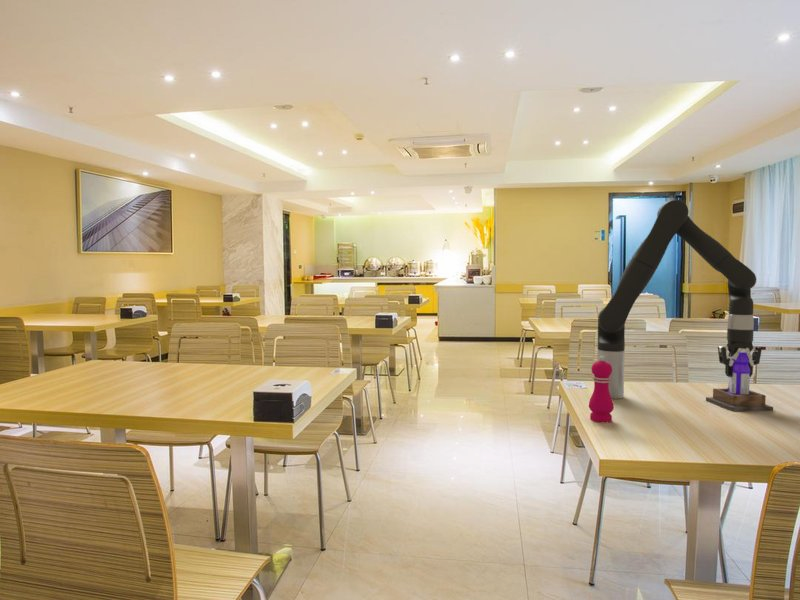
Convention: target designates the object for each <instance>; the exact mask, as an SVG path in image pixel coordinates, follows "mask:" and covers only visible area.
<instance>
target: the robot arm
mask: <svg viewBox="0 0 800 600" xmlns="http://www.w3.org/2000/svg"><path fill="white" fill-rule="evenodd" d="M656 215H657V217H656V219H655V221H654V224H653V225H652V228H651V229H650V231H649V233H648V234H647V236H646V238H645V239H644V240H643V241H642V242H641V243H640V245H639V246H638V248H637V249H636V250H635V252H634V253H633V254H632V256H631V258H630V260H629V261H628V263H627V265H626V267H625V269H624V270H623V273H622V275H621V278H620V280H619V282H618V285H617V287H616V290H615V292H614V293H613V296H612V297H611V298H610V300H609V301H608V303H606V306H604V308H602V309H601V310H600V311H599V313H598V317H597V361H599V357H600V356H603V357H604V358H605V362H608V363H609V364H610V365H611V367H612V373H611V375H610V376H609V377H610V382H609V393H610V396H611V398H612V400H614V399H615V400H617V399H623V398H624V396H625V394H624V393H625V347H626V346H625V345H626V344H625V342H626V341H625V337H626V336H625V331H626V329H625V327H626V325H625V324H626V321H627V319H628V317H629V314H630V312H631V310H632V308H633V305H634V304H635V302H636V301H637V299H638V298H639V296H640V295H642V293H643V292H644V290H645V288H646V287H647V286H648V284H649V283H650V281H651V280H652V278H653V276H654V275H655V273H656V272H657V271H656V270H657V269H658V267H659V265H660V264H661V262H662V260H663V257H664V255H665V254H666V251H667V249H668V246H669V245H670V243H671V241H672V239H673V238H674V237H675V235H677V236H679V237H680V238H681V239H682V240H684V241H685V243H687V244H688V245H689V246H690V247H691V248H692V249H693V250H694V251H695V252H696V253H697V254H698V255H699V256H700V257H701V258H702V259H703V260H704V261H705V262H706V263H707V264H708V265H709V266H711V267H712V268H713V269H714V270H716V271H717V272H719V273H721V274H722V275H723V276H724V277H725V278H726V279H727V291H728V299H729V301H728V316H727V323H726V325H727V326H726V327H727V328H726V331H727V332H726V333H727V334H726V340H727V344H726V345H725V346H724V345H723V346H722V345H719V346H717V351H718V360H719V364H722V365H724V373H725V375H726V377H732V375H733V366H732V365H733V363H734V361H735V360H736V359H737V357H738V355H739V353H740V351H741V348H744V349H746V353H747V358H748V360H749V363H748V366H749V368H750V378H751V377H752V376H753V372H754V371H753V370H754V366H755V365H759V364H760V361H761V356H762V350H763V348H762V347H761V346H758V345H753V342H754V326H755V325H754V324H755V323H754V322H755V321H754V301H753V298H752V296H751V295H752V293H751V292H752V288H754V286H755V285H756V283H757V275H756V274H755V273H754V271H753V270H752V269H750V268H749V267H748V266H747V265H745V264H744V263H743V262H741V261H740V260H739V259H737V258H736V257H735V256H734V255H733V254H732V253H731V252H730V251H729V250H728V249H727V248H726V247H724V245H722V243H720V242H719V241H718V240H716V239H715V238H713V237H712V236H711V235H709V234H708V233H707V232H706V231H704V230H702V229H701V228H700V227H699V226H698V225H696V223H695V222H694V221H693V220H692V219H691V217H690V216H689V207H688V205H687V204H686V203H685V202H684V201H683V200H680V199H671V200H668V201H666V202H663V204H662V205H661V206H660V207H659V208H658V211H657V214H656ZM732 356H733V357H732ZM597 361H596V362H597Z"/></svg>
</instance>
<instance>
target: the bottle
mask: <svg viewBox="0 0 800 600" xmlns="http://www.w3.org/2000/svg"><path fill="white" fill-rule="evenodd" d="M732 357H733V356H732ZM748 363H749V360H748V358H747V353H746V349H744V348H741V351H740V353H739V355H738V357H737V359H736V360H735V361H734V363H733V365H732V366H733V375H732V377H728V376H727V377H728V378H727V381H728V382H727V388H728V393H731V394H733V395H749V390H750V378H751V377H750V368H749V366H748Z"/></svg>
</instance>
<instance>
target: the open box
mask: <svg viewBox="0 0 800 600" xmlns="http://www.w3.org/2000/svg"><path fill="white" fill-rule="evenodd" d="M766 397H767V395H765V394H762V393H759V392H756V391H752V390H750V389H749V395H733V394H731V393H728V387H727V388H719V387H718V388H712V396H711V397H710V396H708V397H707V396H705V401H706V402H708V403H711V404H713V405H716V406H718V407H720V408H723V409H726V410H727V411H731V412H747V411H748V412H757V411H758V412H762V411H763V412H768V411H769V412H770V411H771V412H773V411H774V406H771V405H769V404H766Z"/></svg>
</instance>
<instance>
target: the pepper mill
mask: <svg viewBox="0 0 800 600" xmlns="http://www.w3.org/2000/svg"><path fill="white" fill-rule="evenodd" d="M591 373H592V374H593V376H592V381H593V382H594V383H593V384H594V386H593V387H594V388H593V392H592V394H591V396H590V399H589V402H588V408H589V410H590V413H589V414H590V415H589V416H590V417H589V419H590V420H591V421H592V420H593V422H595V421H596V423H601V422H605V423H604V424H606V422H608V423H611V422H612V419H613V416H612V412H613V411H614V409H615V406H614V405H615V404H614V401H613V399H612V398H611V396H610V393H609V382H610V377H609V376H610V375H611V373H612V367H611V365H610V364H609V363H608V362H605V358H604V357H603V356H600V357H599V361H595V362H593V364H592V365H591Z"/></svg>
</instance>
